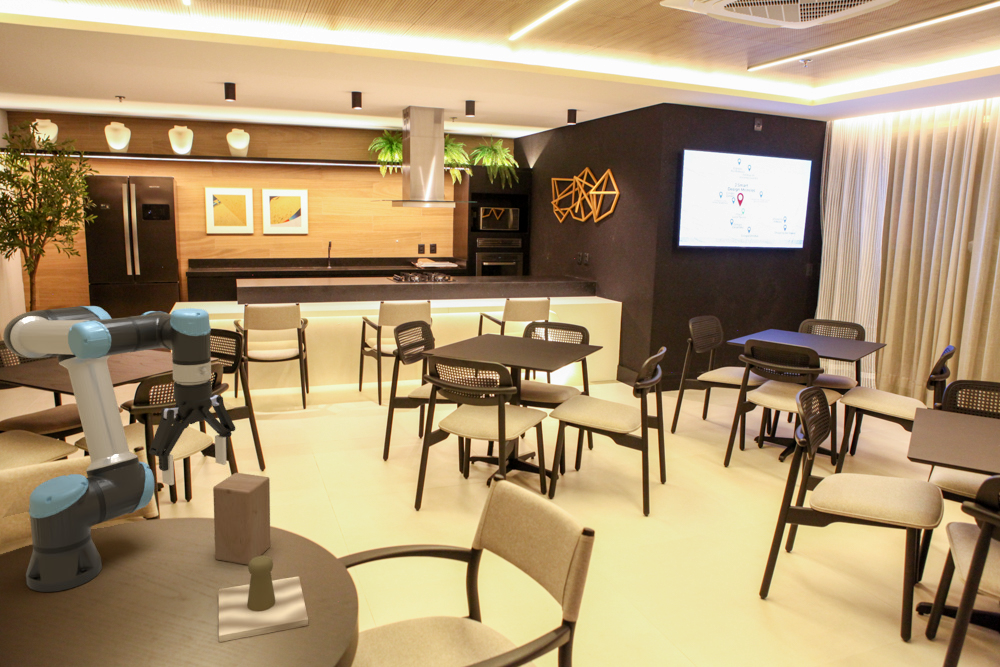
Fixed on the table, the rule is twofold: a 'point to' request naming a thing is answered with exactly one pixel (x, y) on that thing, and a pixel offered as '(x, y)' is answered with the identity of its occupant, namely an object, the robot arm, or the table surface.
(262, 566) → the olive pawn
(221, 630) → the birch board
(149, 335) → the robot arm
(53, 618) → the table surface
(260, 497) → the wooden block
